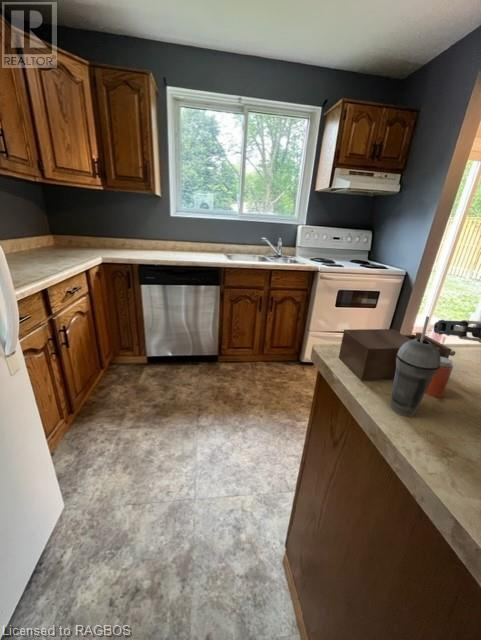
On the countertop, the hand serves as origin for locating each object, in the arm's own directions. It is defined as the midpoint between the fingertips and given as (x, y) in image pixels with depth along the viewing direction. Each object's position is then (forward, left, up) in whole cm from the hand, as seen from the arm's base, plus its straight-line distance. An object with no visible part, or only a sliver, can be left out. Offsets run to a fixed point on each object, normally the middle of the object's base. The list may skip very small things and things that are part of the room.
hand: (458, 330), depth 54 cm
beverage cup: (+10, +3, -17) cm, 19 cm away
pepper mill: (-2, -2, -16) cm, 17 cm away
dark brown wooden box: (+5, -14, -16) cm, 22 cm away
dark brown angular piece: (-5, -14, -16) cm, 22 cm away
